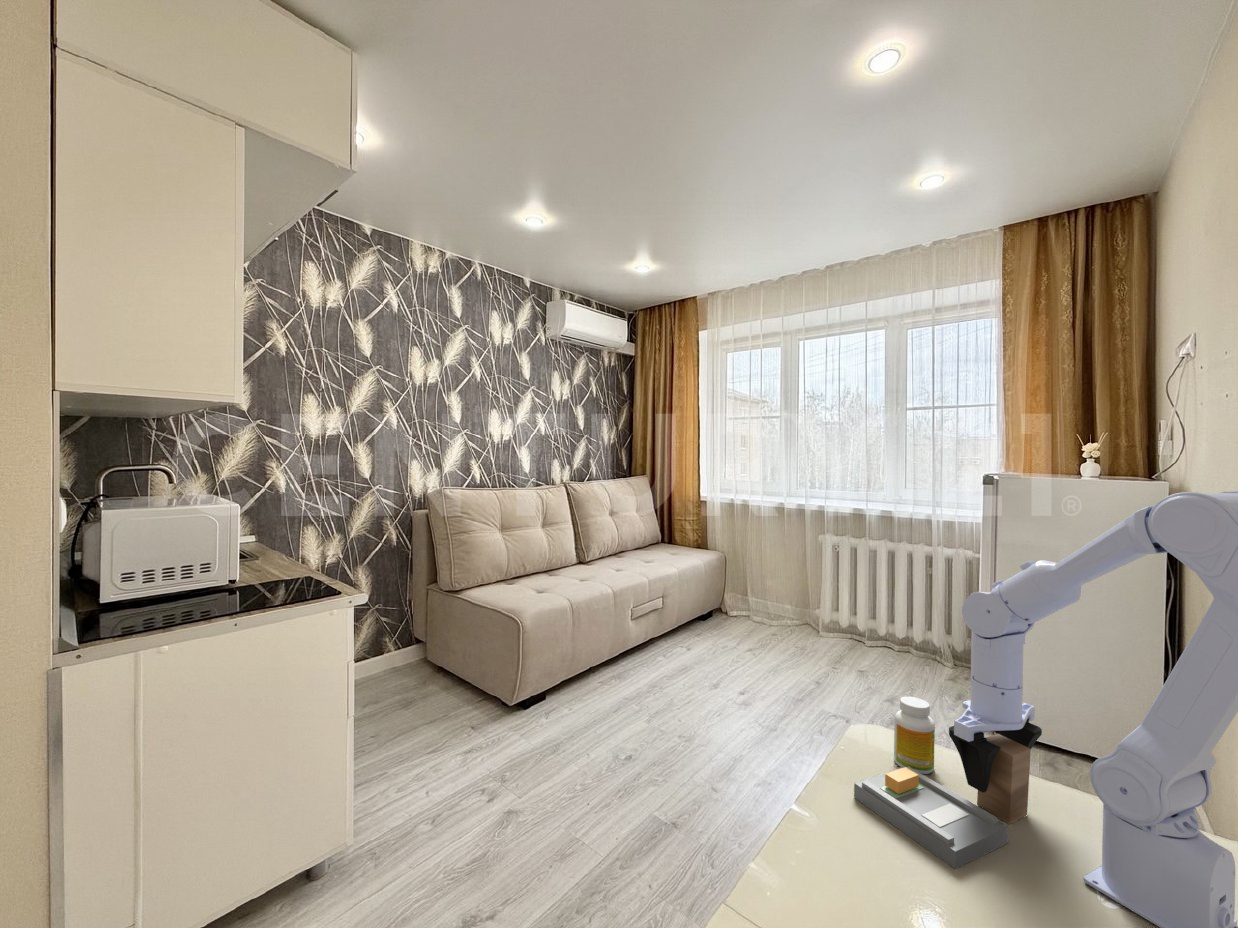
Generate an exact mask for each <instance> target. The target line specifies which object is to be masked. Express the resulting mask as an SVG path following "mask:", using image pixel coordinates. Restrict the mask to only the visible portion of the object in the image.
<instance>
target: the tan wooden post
mask: <svg viewBox="0 0 1238 928" xmlns="http://www.w3.org/2000/svg"><path fill="white" fill-rule="evenodd" d="M986 738H987V741H988V742H990V743H993V744H995V745H997V746H999V747H1000V750H999V751H998V753H997V754H996V756H995V758H994V761H993V763H992V767H991V772H990V780H989V785H988V789H987V791H986V792H984V793H983V792H981V791H979V790H977V797H976V798H977V800H976V806H978V807H980V808H982V809H983V810H985V811H987V812H989V813H990V814H992V815H994V816H995V817H997V818H998V819H1000V820H1001V821H1003V822H1005V823H1007V824H1008V825H1011V824H1012V823H1013V824H1014V823H1015V822H1017V821H1019V820H1022V819H1023V818H1025V817H1027V816H1028V803H1029V787H1030V768H1031V767H1030V766H1031V765H1030V764H1031V750H1032V748H1031V749H1030V748H1028V747H1026V746H1024V745H1021V744H1019V743H1017V742H1015V741H1013V740H1011V739H1009V738H1007V737H1004V736H1002V735H1000V734H996V733H995V734H993V735H989V736H987V737H986ZM1026 815H1027V816H1026ZM1024 816H1025V817H1024ZM1022 817H1023V818H1022Z"/></svg>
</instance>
